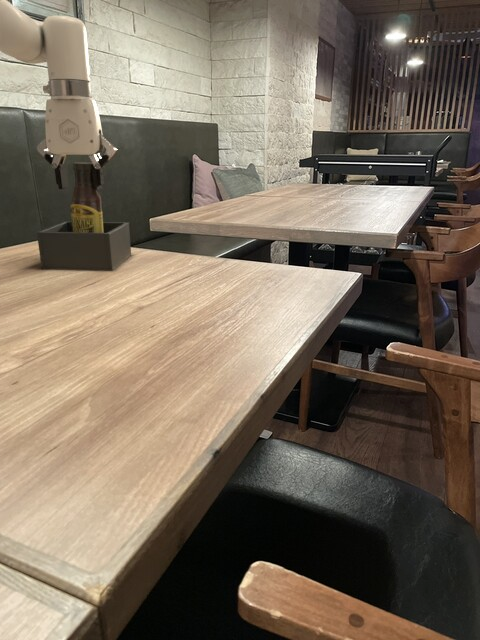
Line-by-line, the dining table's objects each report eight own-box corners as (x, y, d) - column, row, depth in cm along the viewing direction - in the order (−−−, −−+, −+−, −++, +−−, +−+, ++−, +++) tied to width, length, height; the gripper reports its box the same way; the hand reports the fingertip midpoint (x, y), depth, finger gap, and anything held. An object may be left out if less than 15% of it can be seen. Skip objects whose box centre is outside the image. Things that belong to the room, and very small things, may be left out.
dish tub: (41, 270, 99) (36, 232, 97) (68, 255, 112) (64, 221, 109) (112, 272, 98) (109, 233, 96) (131, 257, 111) (128, 222, 108)
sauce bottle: (68, 262, 103) (57, 162, 96) (86, 255, 109) (76, 161, 102) (96, 264, 101) (86, 163, 94) (112, 257, 107) (104, 162, 100)
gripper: (17, 90, 91) (30, 190, 97) (109, 90, 90) (116, 191, 96) (36, 93, 98) (47, 186, 104) (121, 94, 97) (127, 188, 103)
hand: (80, 188), depth 100 cm, fingers open, 6 cm apart
